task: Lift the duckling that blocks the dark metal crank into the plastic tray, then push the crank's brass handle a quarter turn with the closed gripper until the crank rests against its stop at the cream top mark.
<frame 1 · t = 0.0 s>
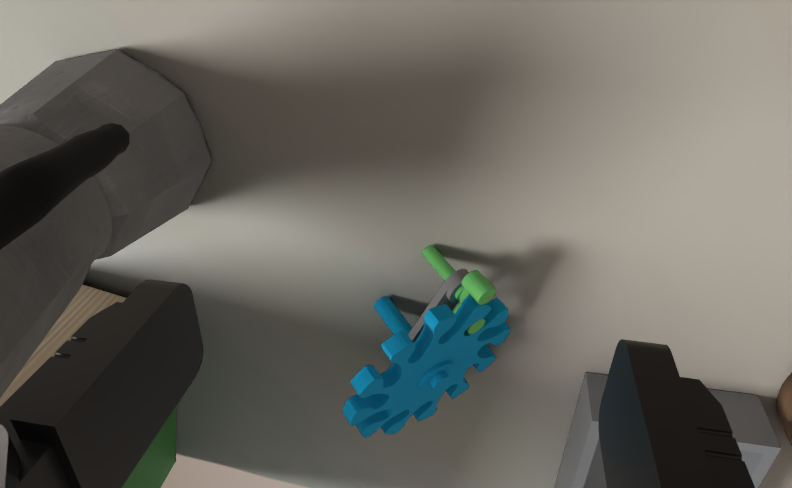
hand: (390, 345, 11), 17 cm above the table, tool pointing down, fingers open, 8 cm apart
gear: (442, 311, 33), on the table
hardback book: (128, 371, 41), on the table
coffeepot: (144, 125, 29), on the table
tray: (639, 462, 36), on the table
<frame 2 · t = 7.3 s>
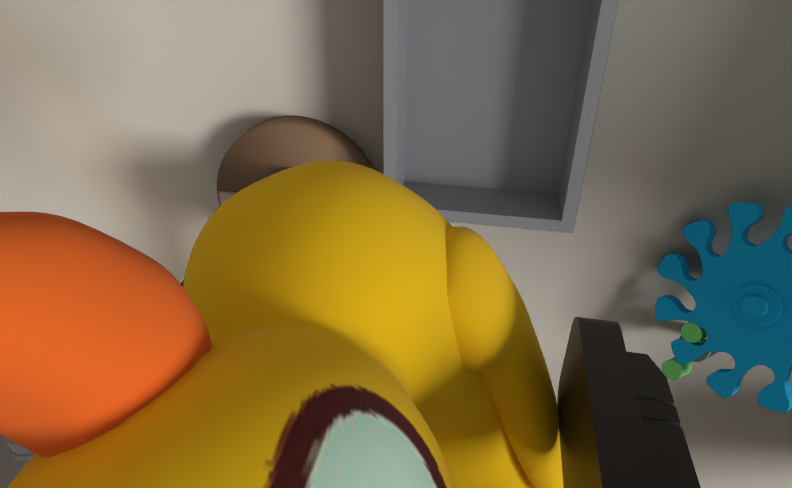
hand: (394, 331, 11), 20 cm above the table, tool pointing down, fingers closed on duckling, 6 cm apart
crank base: (303, 192, 33), on the table
gear: (726, 267, 31), on the table
duckling: (402, 263, 13), point 17 cm above the table, touching gripper
tray: (492, 58, 27), on the table
when the fingers open (5 cm above the table, at t = 10.9 s): duckling drops 2 cm, resting on tray.
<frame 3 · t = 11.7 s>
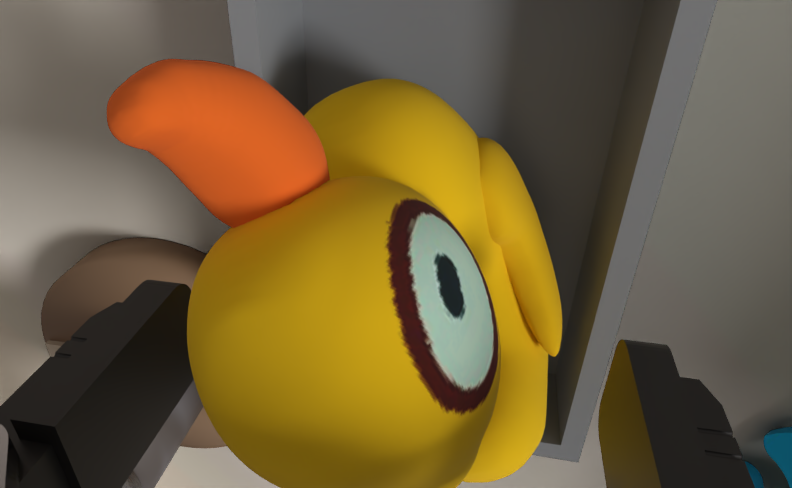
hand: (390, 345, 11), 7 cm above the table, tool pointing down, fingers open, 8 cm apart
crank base: (178, 337, 22), on the table
duckling: (433, 181, 16), resting on tray
tray: (451, 175, 17), on the table
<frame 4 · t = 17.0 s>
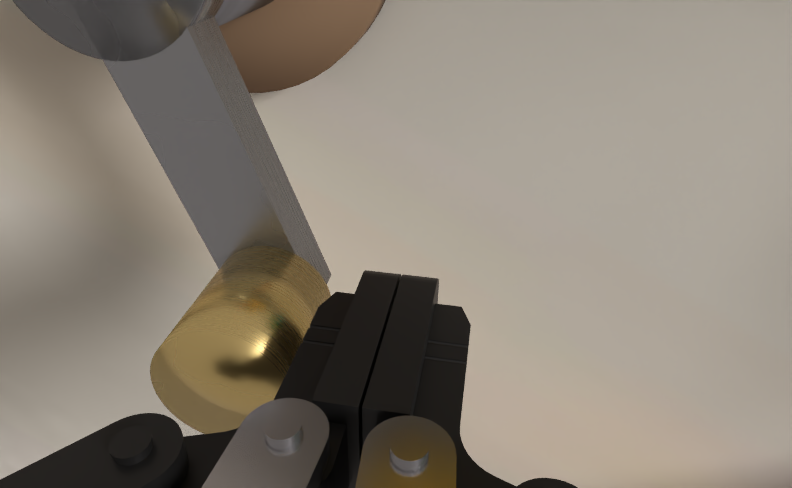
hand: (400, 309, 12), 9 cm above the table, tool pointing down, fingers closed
crank: (161, 140, 11), point 8 cm above the table, hinge at 177.9°, touching gripper
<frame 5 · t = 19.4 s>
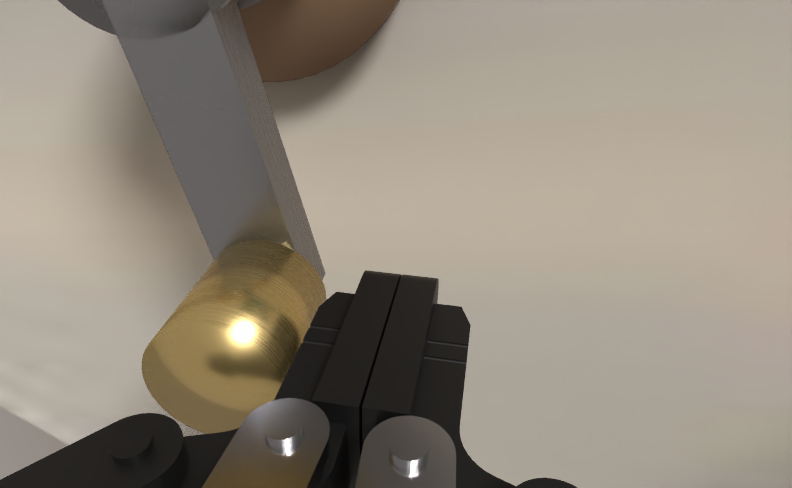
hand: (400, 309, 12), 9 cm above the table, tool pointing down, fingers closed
crank: (174, 125, 11), point 8 cm above the table, hinge at 135.1°, touching gripper
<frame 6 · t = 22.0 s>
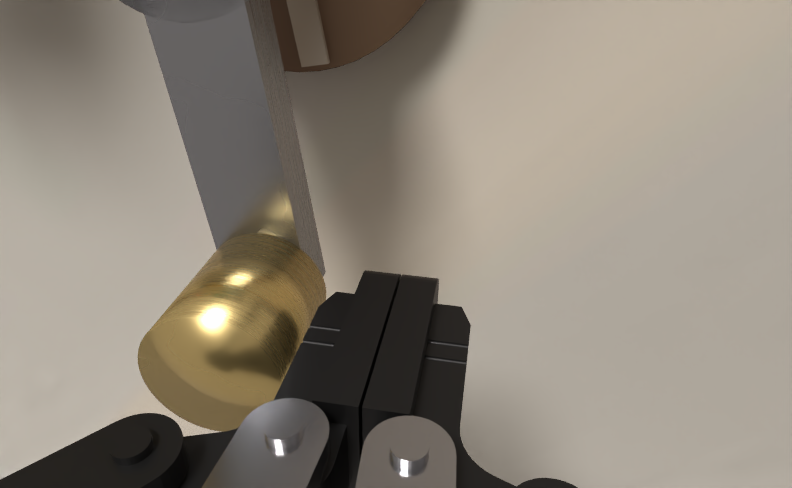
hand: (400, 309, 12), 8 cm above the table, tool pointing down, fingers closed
crank: (195, 113, 10), point 8 cm above the table, hinge at 87.6°, touching gripper
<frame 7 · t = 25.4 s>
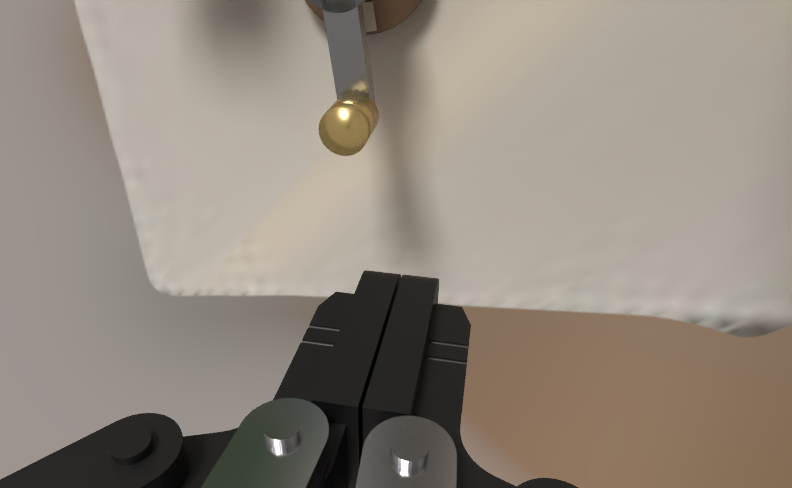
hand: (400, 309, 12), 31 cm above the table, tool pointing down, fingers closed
crank: (340, 42, 32), point 8 cm above the table, hinge at 87.4°
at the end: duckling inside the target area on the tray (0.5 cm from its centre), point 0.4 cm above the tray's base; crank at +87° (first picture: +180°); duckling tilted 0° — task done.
